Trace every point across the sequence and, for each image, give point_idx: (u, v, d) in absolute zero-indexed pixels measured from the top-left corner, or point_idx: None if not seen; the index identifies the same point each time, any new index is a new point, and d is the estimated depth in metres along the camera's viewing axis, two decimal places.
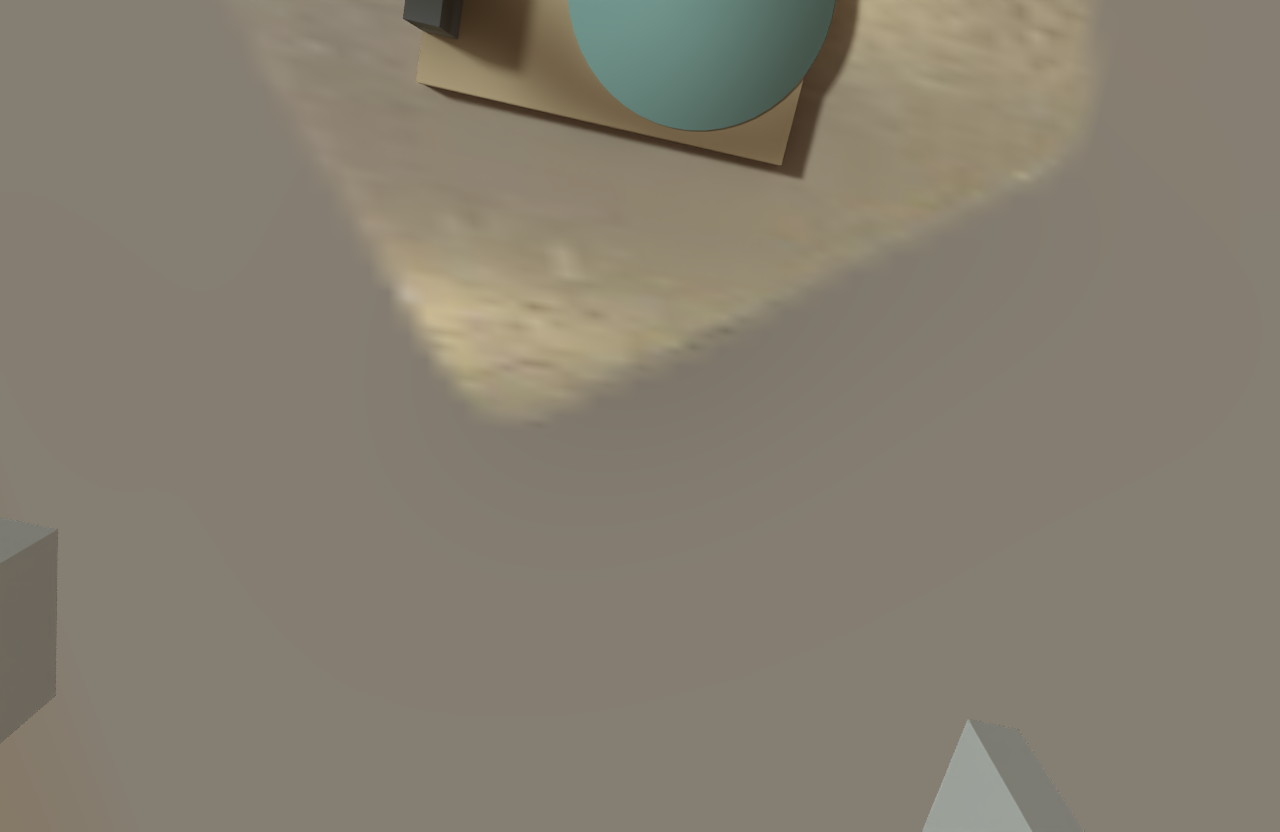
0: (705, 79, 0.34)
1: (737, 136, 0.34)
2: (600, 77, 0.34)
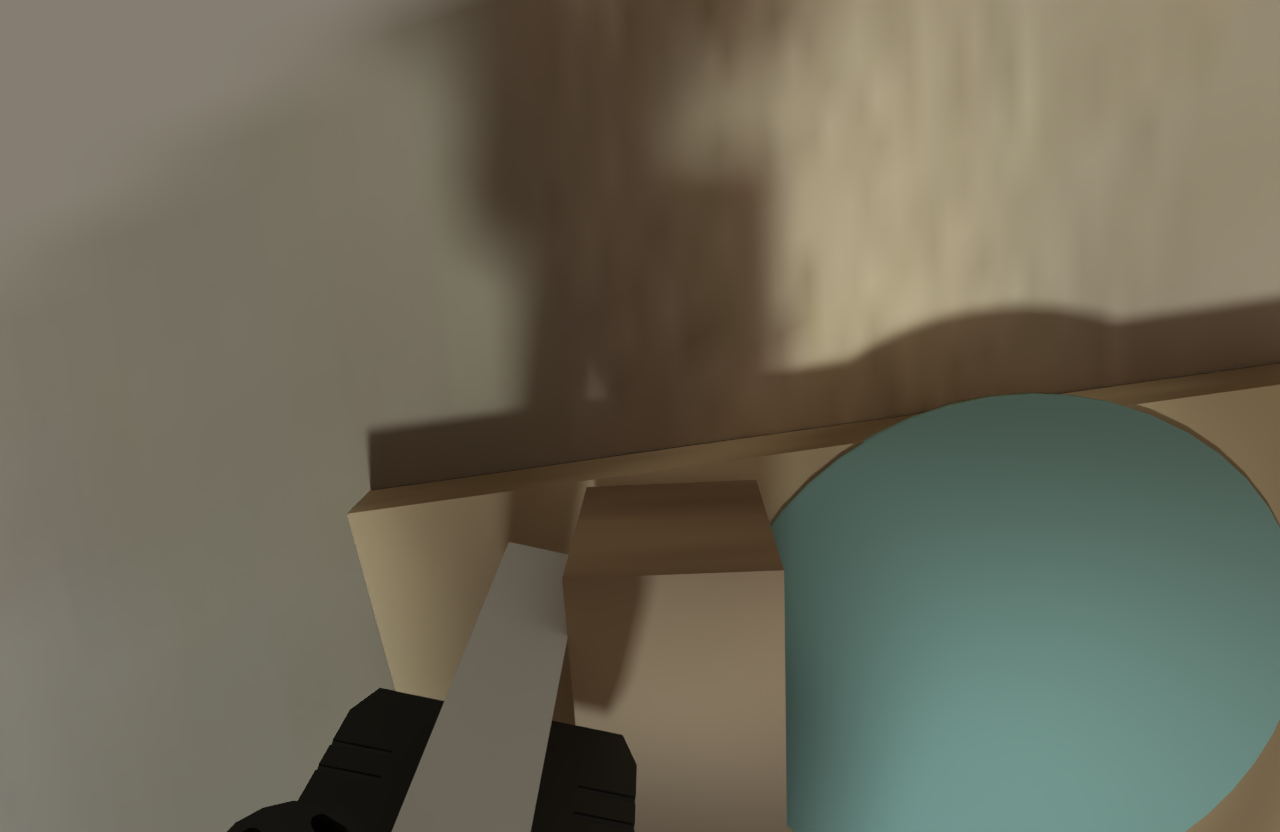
0: (1185, 604, 0.15)
1: None
2: (1224, 791, 0.16)
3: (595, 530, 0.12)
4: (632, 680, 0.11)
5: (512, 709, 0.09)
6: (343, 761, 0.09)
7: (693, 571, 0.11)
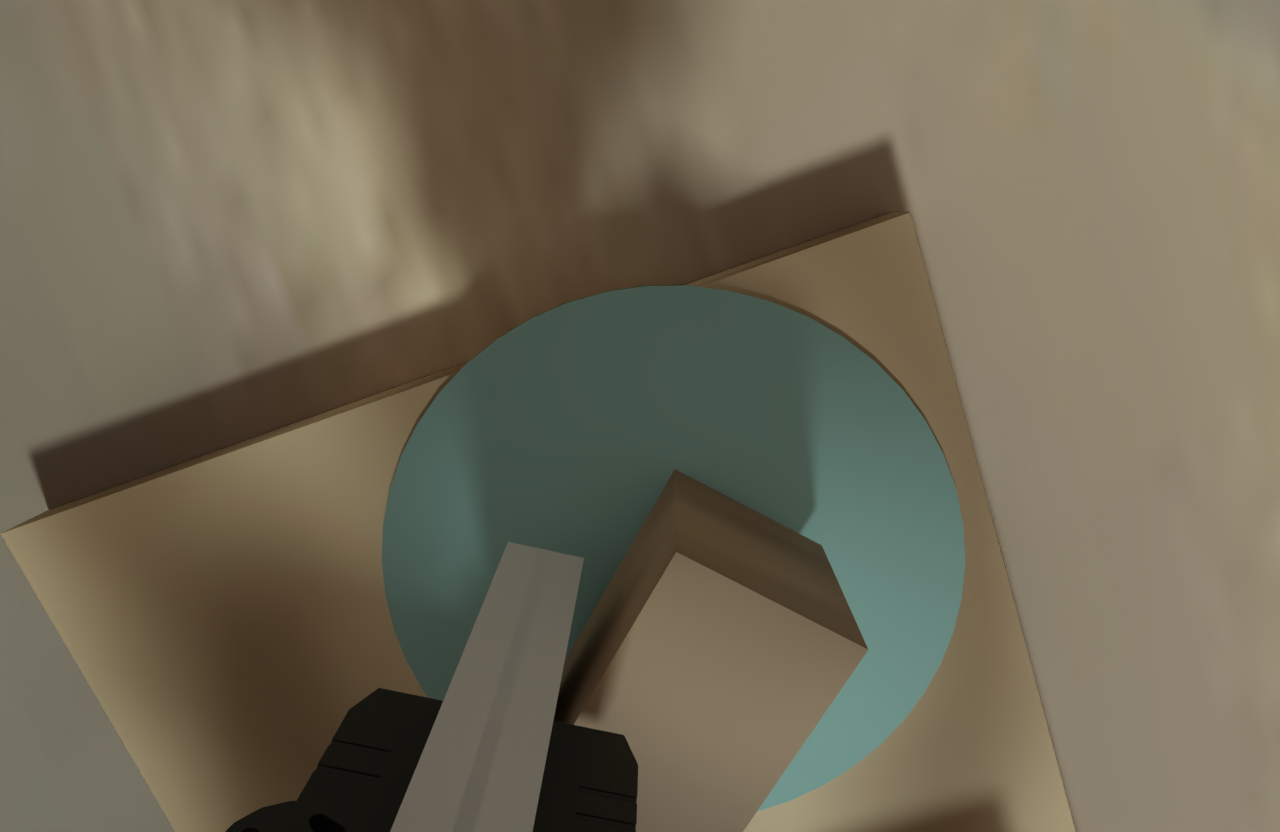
0: (827, 478, 0.15)
1: (899, 346, 0.14)
2: (932, 666, 0.15)
3: (694, 518, 0.12)
4: (675, 673, 0.11)
5: (511, 709, 0.09)
6: (342, 761, 0.09)
7: (791, 607, 0.11)
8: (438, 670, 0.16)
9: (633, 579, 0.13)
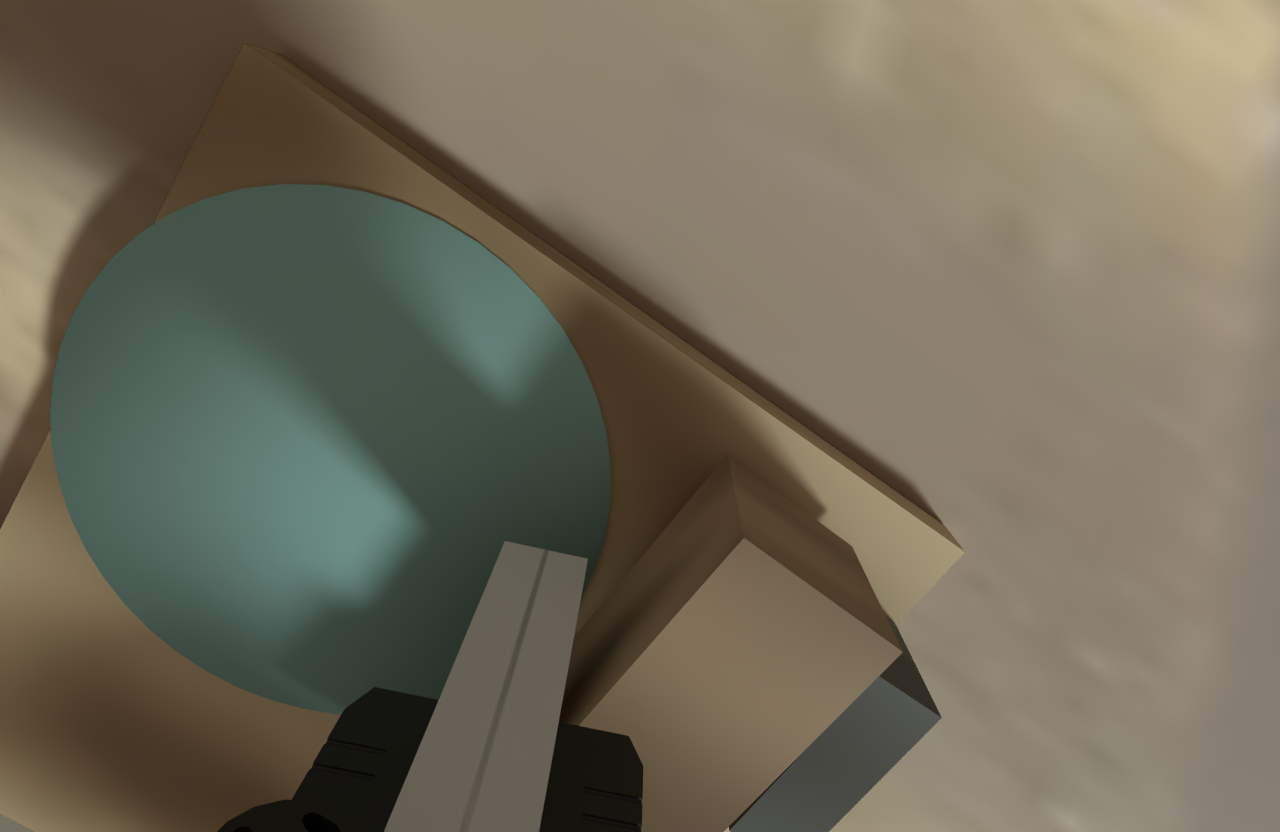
0: (371, 308, 0.15)
1: (332, 158, 0.14)
2: (591, 406, 0.15)
3: (751, 506, 0.13)
4: (720, 648, 0.12)
5: (506, 708, 0.09)
6: (337, 760, 0.09)
7: (839, 603, 0.12)
8: (235, 664, 0.17)
9: (682, 554, 0.13)
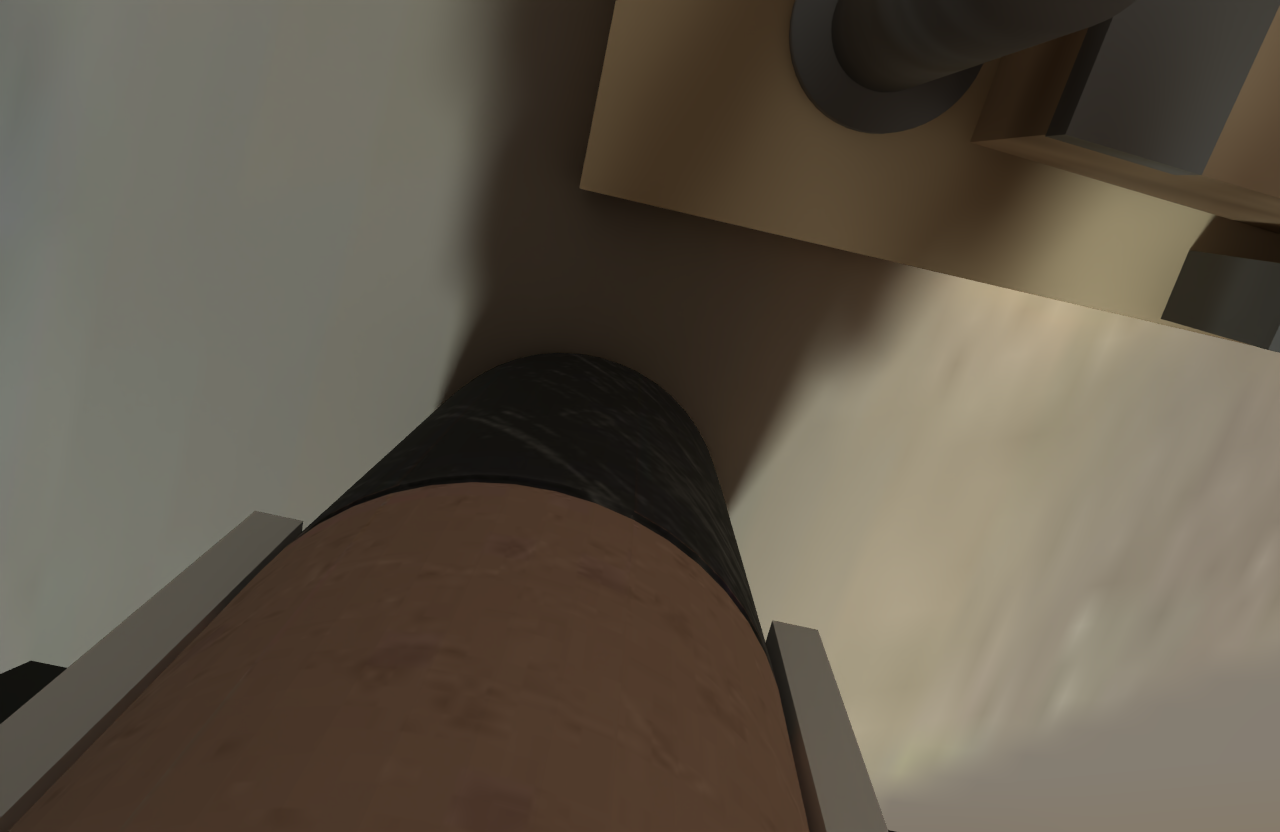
0: None
1: None
2: None
3: None
4: None
5: (143, 681, 0.09)
6: None
7: None
8: None
9: None
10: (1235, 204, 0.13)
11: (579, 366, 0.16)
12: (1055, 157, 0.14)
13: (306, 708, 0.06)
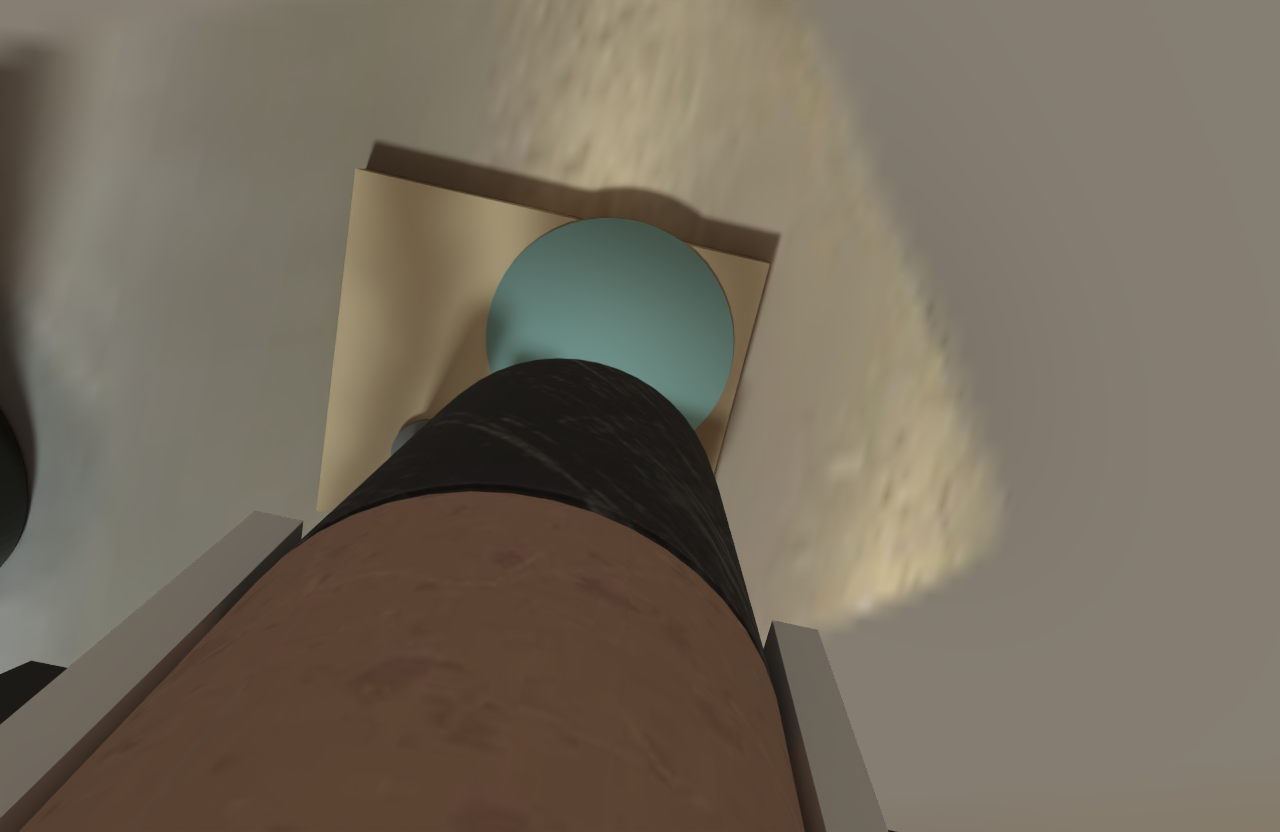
0: (688, 340, 0.36)
1: (740, 308, 0.35)
2: None
3: None
4: None
5: (143, 681, 0.09)
6: None
7: None
8: (497, 329, 0.36)
9: None
10: None
11: (578, 371, 0.16)
12: None
13: (303, 723, 0.06)
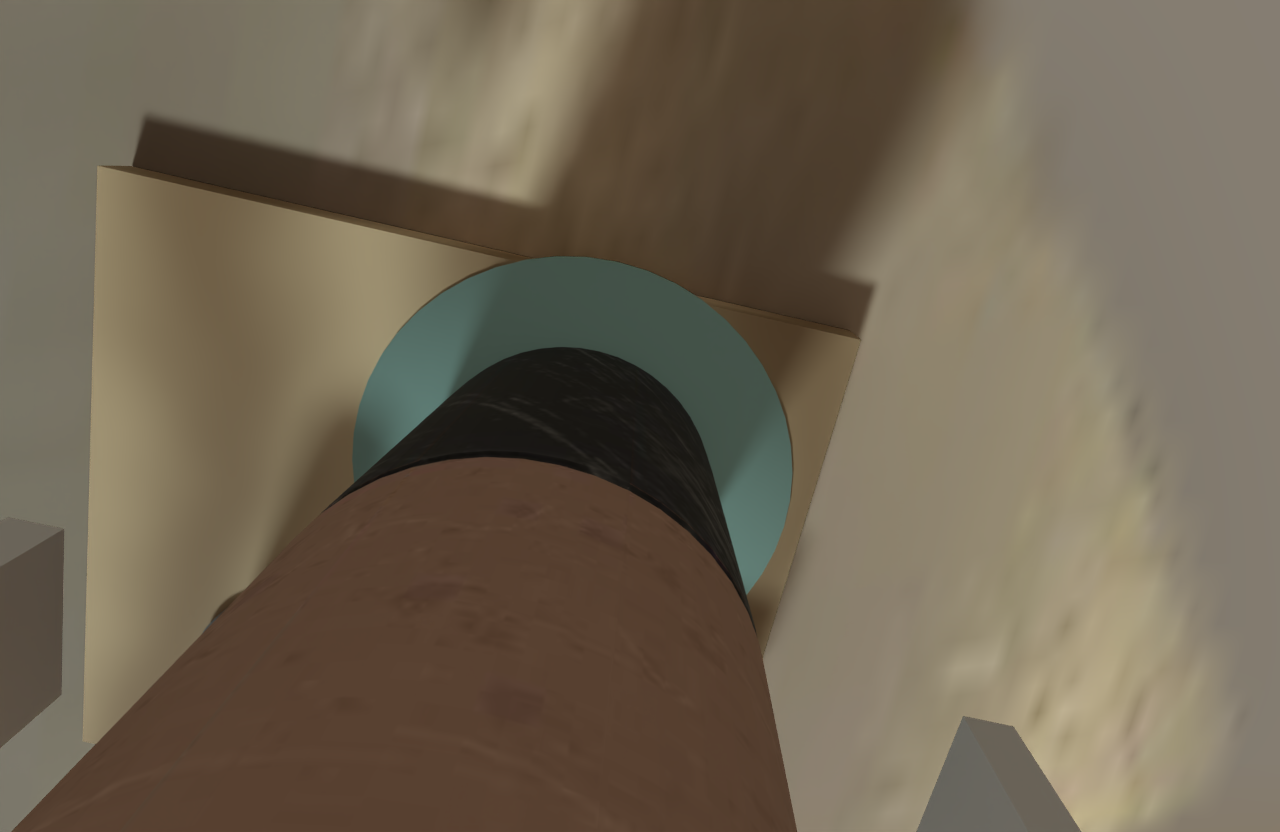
0: None
1: (804, 417, 0.20)
2: None
3: None
4: None
5: None
6: None
7: None
8: (372, 452, 0.20)
9: None
10: None
11: (580, 358, 0.18)
12: None
13: (356, 628, 0.07)
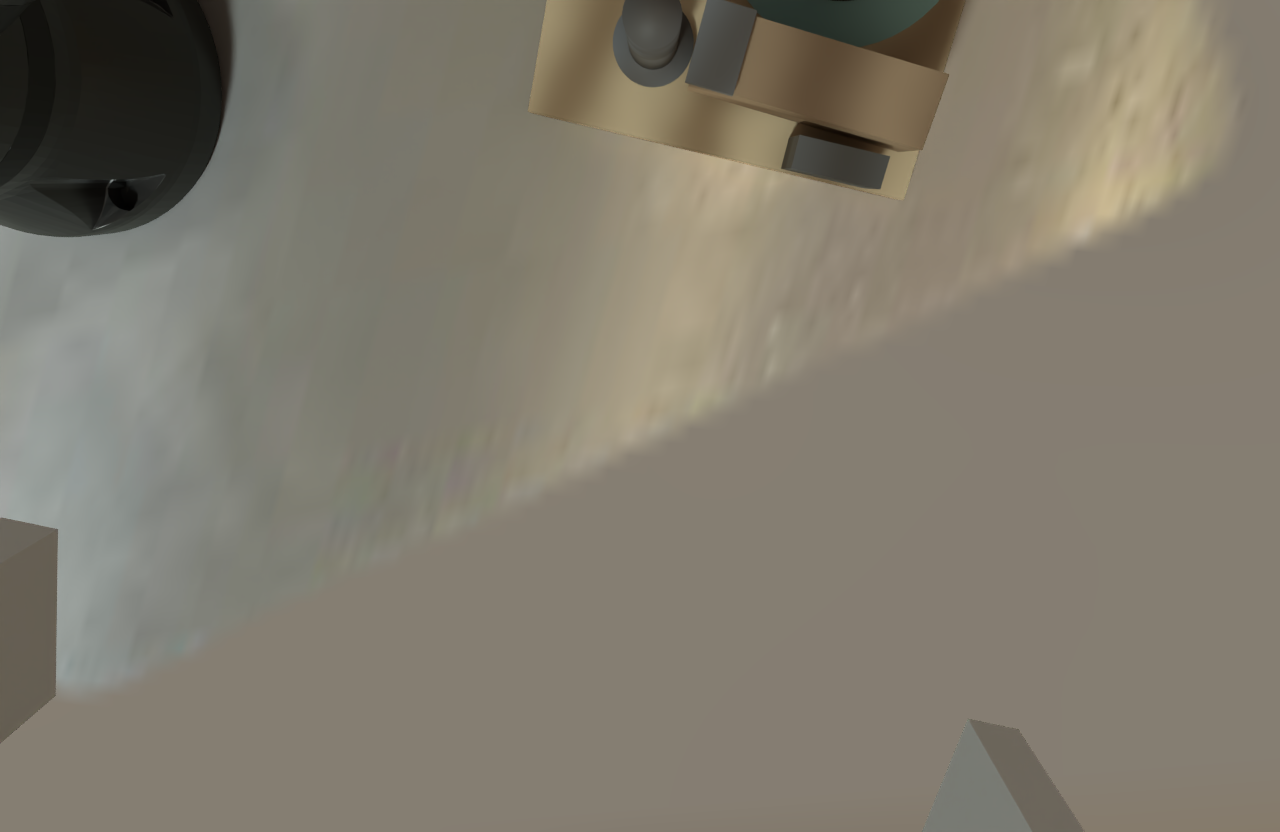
0: None
1: None
2: (919, 15, 0.35)
3: None
4: (903, 85, 0.33)
5: None
6: None
7: (932, 120, 0.33)
8: None
9: None
10: (777, 111, 0.35)
11: None
12: (711, 94, 0.35)
13: None
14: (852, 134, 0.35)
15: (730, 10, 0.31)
